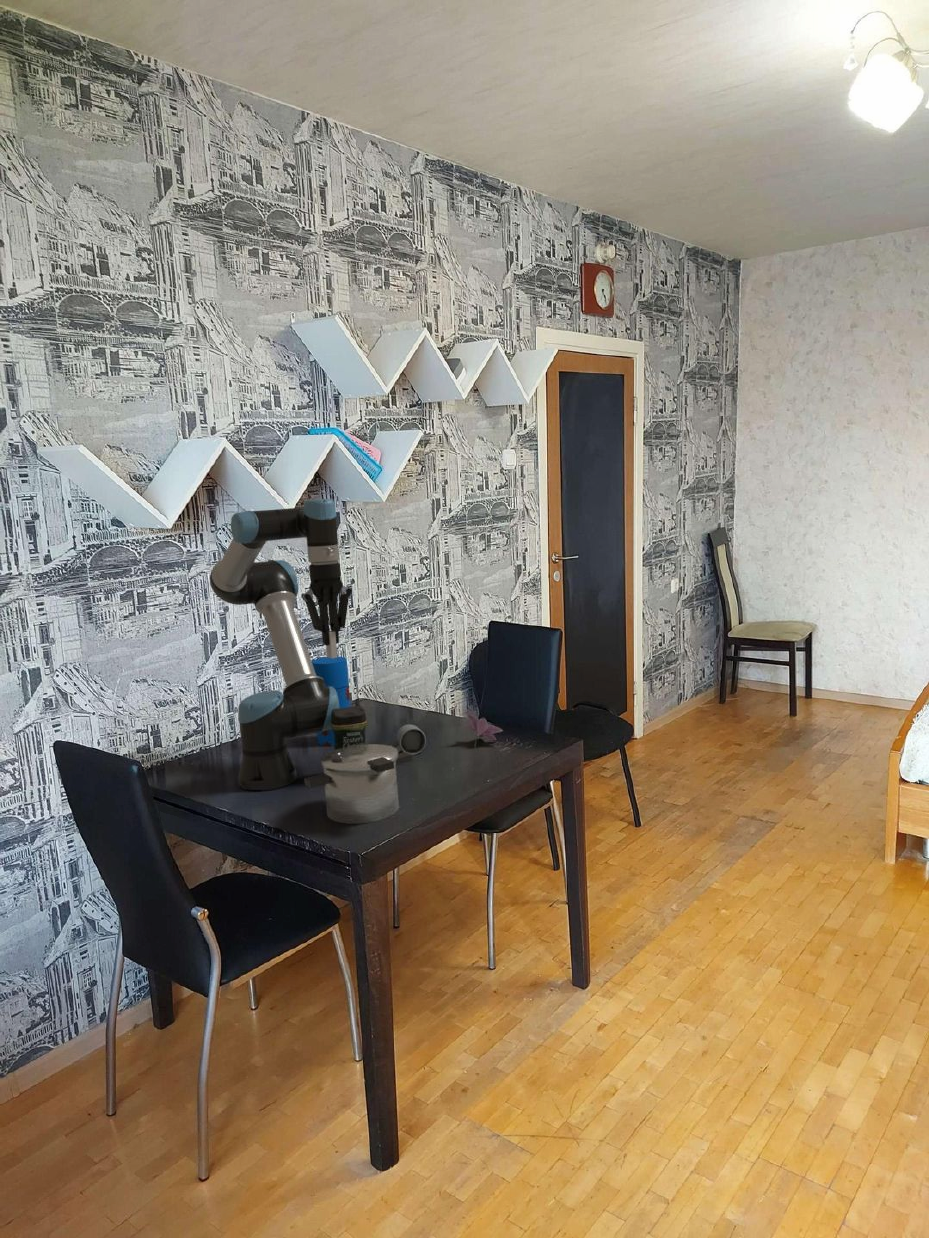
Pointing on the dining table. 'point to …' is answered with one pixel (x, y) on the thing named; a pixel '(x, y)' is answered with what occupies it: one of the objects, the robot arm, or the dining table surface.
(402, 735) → the ceramic mug
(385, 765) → the pot lid
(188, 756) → the dining table surface
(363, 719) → the coffee jar
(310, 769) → the dining table surface
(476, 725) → the lily
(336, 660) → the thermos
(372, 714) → the dining table surface
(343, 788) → the steel pot
